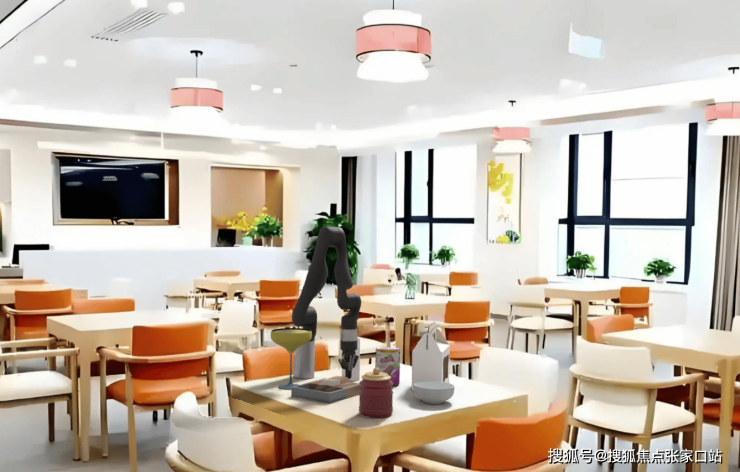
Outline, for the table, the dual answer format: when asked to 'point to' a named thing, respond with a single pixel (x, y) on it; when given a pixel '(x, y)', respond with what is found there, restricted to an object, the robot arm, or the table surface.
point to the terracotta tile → (343, 379)
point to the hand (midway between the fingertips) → (348, 378)
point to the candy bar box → (389, 362)
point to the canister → (376, 395)
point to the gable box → (431, 357)
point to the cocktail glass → (290, 344)
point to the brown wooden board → (336, 387)
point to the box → (317, 394)
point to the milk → (355, 370)
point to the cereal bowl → (433, 391)
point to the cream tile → (331, 381)
